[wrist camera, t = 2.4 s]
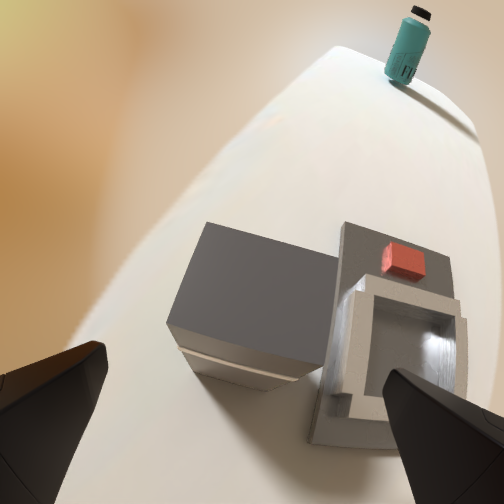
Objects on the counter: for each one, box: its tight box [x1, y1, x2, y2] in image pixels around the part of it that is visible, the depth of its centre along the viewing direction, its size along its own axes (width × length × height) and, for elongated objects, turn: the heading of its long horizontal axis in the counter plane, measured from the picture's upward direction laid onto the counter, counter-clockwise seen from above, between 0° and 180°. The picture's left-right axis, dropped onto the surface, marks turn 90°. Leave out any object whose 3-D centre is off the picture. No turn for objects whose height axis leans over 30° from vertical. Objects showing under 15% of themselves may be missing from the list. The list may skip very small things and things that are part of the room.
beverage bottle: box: [384, 6, 431, 85], centre depth 41 cm, size 6×7×20 cm
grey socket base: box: [307, 221, 468, 449], centre depth 19 cm, size 18×12×3 cm, turn 166°
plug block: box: [166, 222, 339, 392], centre depth 14 cm, size 4×5×11 cm
